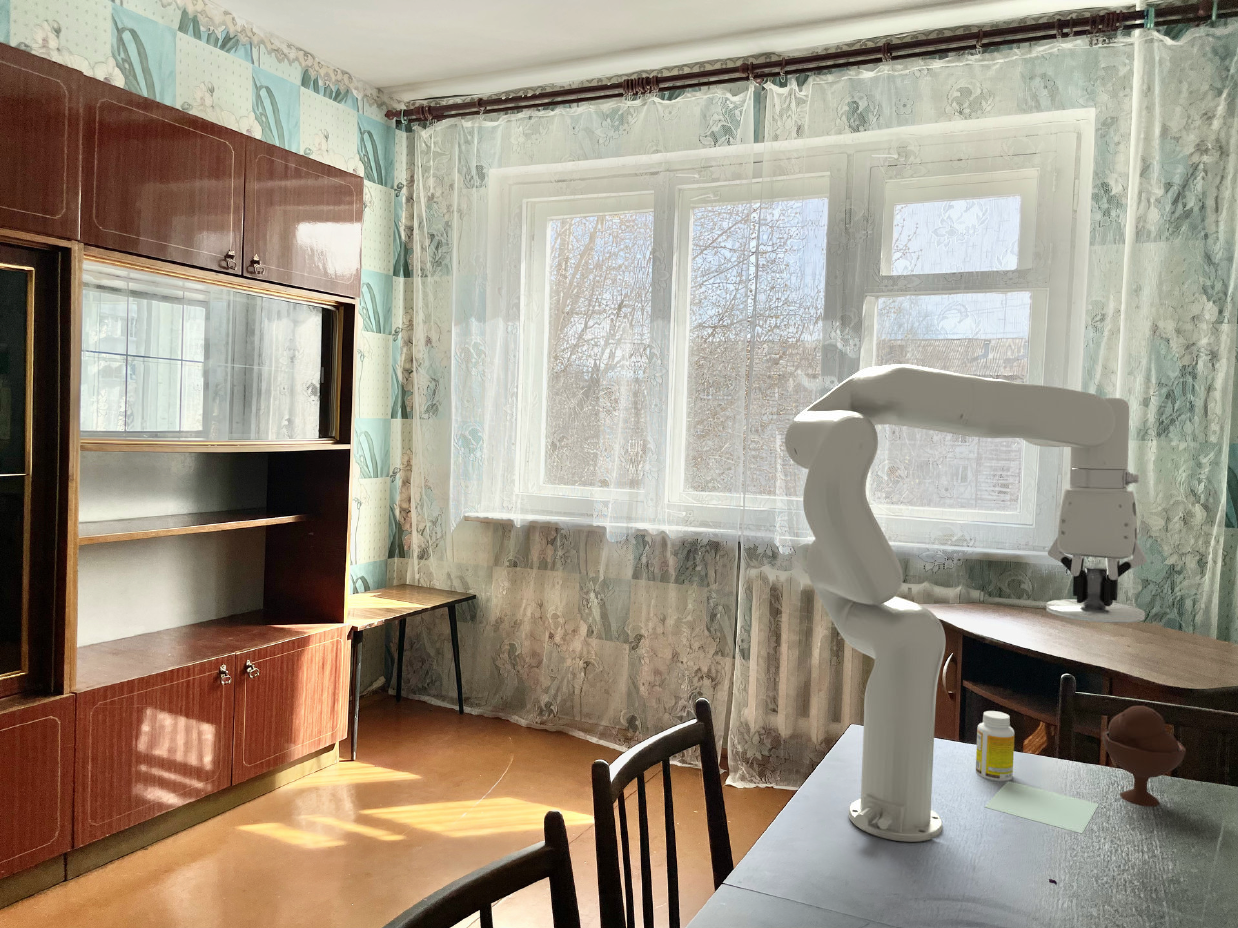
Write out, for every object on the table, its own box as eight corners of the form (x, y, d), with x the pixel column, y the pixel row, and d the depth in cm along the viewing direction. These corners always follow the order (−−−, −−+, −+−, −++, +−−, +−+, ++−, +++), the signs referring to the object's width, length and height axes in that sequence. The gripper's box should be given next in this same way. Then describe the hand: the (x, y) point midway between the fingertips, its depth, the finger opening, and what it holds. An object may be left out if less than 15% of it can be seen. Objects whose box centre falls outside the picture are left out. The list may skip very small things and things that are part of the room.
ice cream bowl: (1198, 817, 130) (1204, 717, 129) (1121, 814, 130) (1127, 714, 129) (1156, 788, 140) (1161, 695, 140) (1085, 786, 141) (1090, 693, 140)
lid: (1137, 627, 123) (1139, 578, 123) (1037, 614, 131) (1038, 569, 131) (1150, 611, 133) (1151, 567, 133) (1056, 601, 141) (1057, 558, 141)
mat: (1081, 836, 123) (1082, 833, 123) (984, 809, 130) (984, 806, 130) (1099, 806, 133) (1099, 803, 133) (1007, 783, 141) (1007, 780, 141)
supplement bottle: (1020, 780, 142) (1023, 717, 142) (995, 785, 140) (998, 721, 139) (991, 768, 147) (994, 707, 147) (967, 772, 145) (970, 711, 144)
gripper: (1165, 481, 129) (1161, 606, 130) (1044, 477, 139) (1041, 593, 140) (1158, 484, 123) (1154, 614, 124) (1032, 479, 133) (1029, 600, 134)
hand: (1094, 602), depth 132 cm, fingers closed on lid, 3 cm apart
